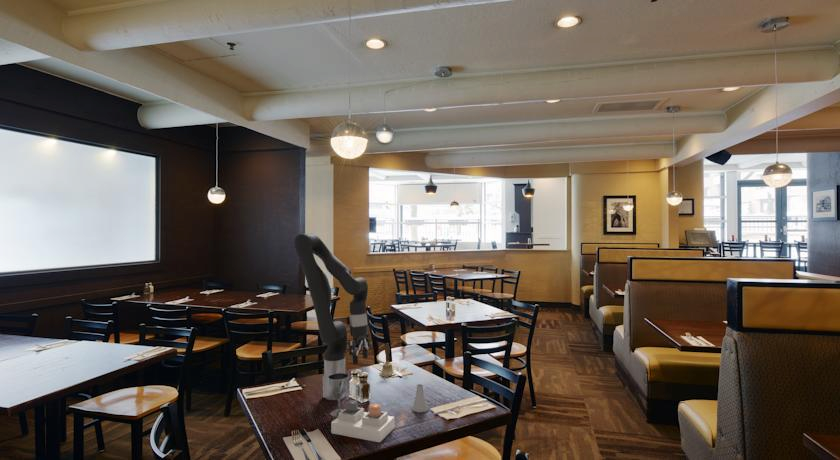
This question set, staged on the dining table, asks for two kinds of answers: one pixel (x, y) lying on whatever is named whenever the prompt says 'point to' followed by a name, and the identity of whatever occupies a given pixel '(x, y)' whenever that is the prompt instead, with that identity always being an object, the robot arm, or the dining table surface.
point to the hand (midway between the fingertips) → (360, 361)
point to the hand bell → (387, 364)
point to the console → (363, 425)
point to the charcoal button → (351, 406)
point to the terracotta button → (374, 410)
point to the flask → (420, 400)
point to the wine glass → (338, 388)
